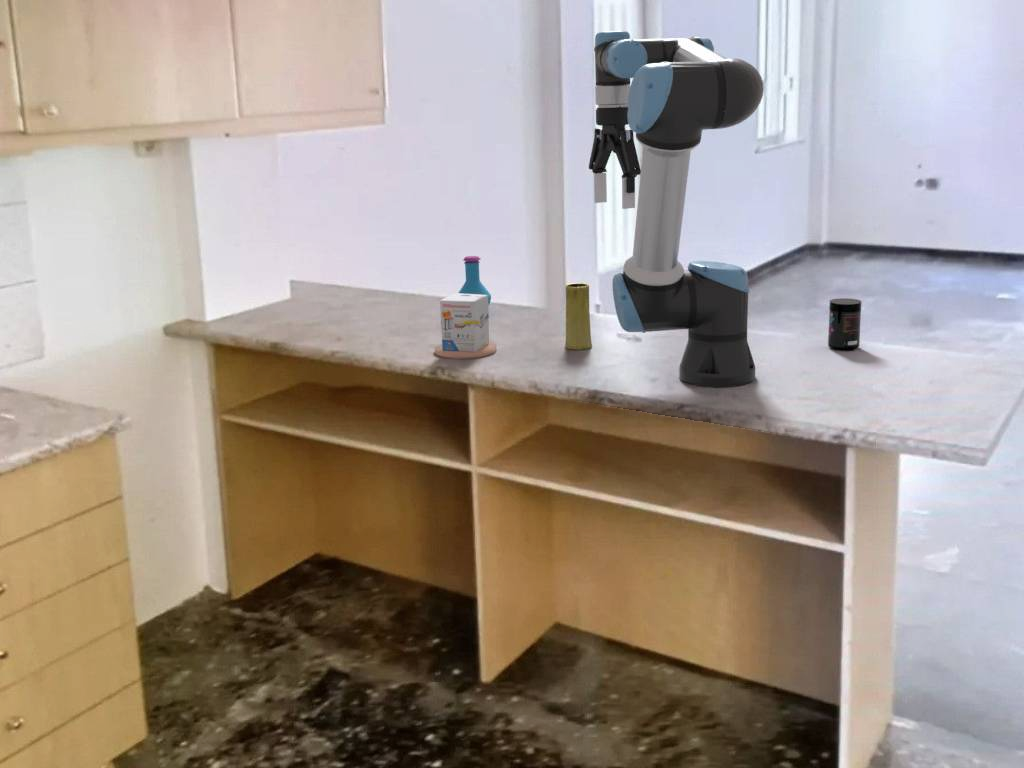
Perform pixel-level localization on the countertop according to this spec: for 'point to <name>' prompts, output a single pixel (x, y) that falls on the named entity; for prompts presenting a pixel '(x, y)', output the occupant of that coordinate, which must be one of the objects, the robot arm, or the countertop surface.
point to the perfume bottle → (473, 278)
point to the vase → (577, 317)
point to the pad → (482, 352)
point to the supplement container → (844, 324)
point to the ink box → (464, 322)
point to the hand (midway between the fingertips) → (614, 205)
